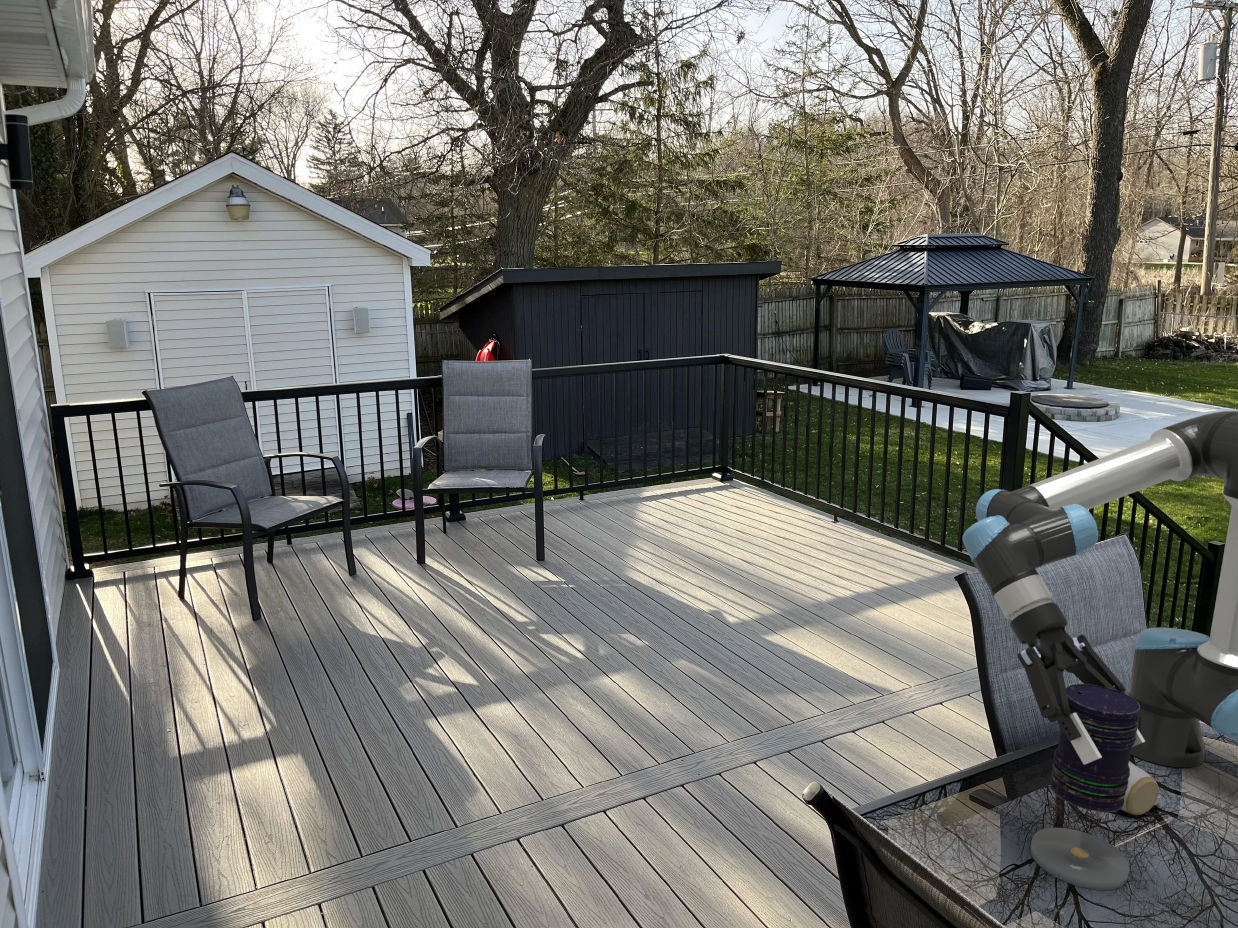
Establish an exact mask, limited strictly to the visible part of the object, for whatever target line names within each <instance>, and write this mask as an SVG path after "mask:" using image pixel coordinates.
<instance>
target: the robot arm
mask: <svg viewBox="0 0 1238 928" xmlns="http://www.w3.org/2000/svg"><path fill="white" fill-rule="evenodd" d="M1195 477H1214V478H1215V477H1217V478H1220V479H1223V480H1224V485H1223V490H1222V496H1223V498H1225V499H1226V501H1227V502H1228V503H1229V504H1230V506H1231V510H1230V516H1229V521H1228V528H1227V533H1226V540H1225V546H1224V550H1223V551H1224V552H1223V558H1222V563H1221V570H1220V574H1219V575H1220V576H1219V581H1218V586H1217V593H1216V600H1215V606H1214V610H1213V616H1212V623H1211V629H1210V634H1209V635H1210V636H1209V635H1206V634H1204V633H1201V632H1197V631H1192V630H1188V629H1184V628H1183V629H1182V628H1175V627H1174V628H1173V627H1150V628H1146V629H1143V630H1142V631H1140V633H1139V635H1138V638H1137V642H1136V646H1135V647H1134V655H1133V663H1132V670H1131V676H1130V677H1131V678H1130V685H1129V689H1128V690H1129V691H1128V696H1130V697H1132V698H1133V699H1134V700H1136V701H1137V702H1138V703H1139V705H1140V710H1139V714H1138V728H1137V733H1136V736H1135V737H1136V740H1135V742H1134V745H1133V746H1132V747H1131V752H1130V756H1131V755H1132V756H1133V757H1136V758H1139V759H1140V760H1143V761H1146V762H1150V763H1154V764H1157V765H1161V766H1166V767H1173V768H1192V767H1193V768H1195V767H1197V766H1200V765H1201V764H1202V763H1203V762H1204V757H1205V753H1206V752H1205V751H1206V746H1205V741H1204V736H1203V733H1202V732H1203V731H1202V726H1201V722H1202V723H1203V724H1205V725H1207V726H1208V727H1210V728H1212V730H1214V731H1215V732H1216V733H1218V734H1221V735H1224V736H1226V737H1228V738H1230V739H1232V740H1234V741H1236V742H1237V741H1238V411H1237V410H1228V411H1227V410H1225V411H1217V412H1212V413H1207V414H1203V415H1199V416H1195V417H1191V418H1189V419H1186V420H1183V421H1179V422H1177V423H1173V424H1171V425H1169V426H1165V427H1163V428H1160V429H1158V430H1156V431H1154V432H1153V433H1152V434H1151V435H1150V438H1149V439H1148V440H1146V441H1143V442H1139V443H1137V444H1134V445H1132V446H1130V447H1126V448H1124V449H1121V450H1119V451H1118V450H1117V451H1116V452H1114V453H1111V454H1108V455H1106V456H1103V457H1100V458H1098V459H1095V460H1092V461H1089V462H1087V463H1084V464H1082V465H1079V466H1076V467H1074V468H1072V469H1069V470H1065V471H1064V472H1061V473H1059V474H1058V473H1057V474H1056V475H1053V476H1050V477H1047V478H1045V479H1042V480H1040V481H1037V482H1035V483H1032V484H1028V485H1026V486H1025V487H1024V486H1023V487H1021V488H1018V489H1015V490H1012V491H1009V490H1006V489H997V488H995V489H990V490H988V491H986V492H984V493H983V494H982V495H981V496H980V497H979V498H978V501H977V503H976V506H975V515H976V516H975V518H976V519H977V522H975V523H974V524H972V525H970V527H968V528H967V529H966V530H965V531H964V533H963V535H962V543H963V544H964V547H965V549H966V551H967V553H968V555H969V557H970V559H971V562H972V563H973V564H974V566H975V568H976V569H977V571H978V572H979V574H980V576H981V577H982V579H983V581H984V582H985V584H986V586H987V588H988V589H989V591H990V592H991V595H992V597H993V598H994V599H995V601H996V602H997V605H998V606H999V608H1000V610H1001V612H1002V613H1003V614H1002V615H1004V617H1005V619H1007V620H1011V621H1010V624H1009V626H1010V628H1011V630H1012V631H1013V633H1014V635H1015V636H1016V638H1017V641H1018V642H1019V643H1020V644H1022V645H1027V646H1028V647H1027V648H1025V649H1024V650H1022V651H1020V652H1019V653H1017V655H1016V656H1017V658H1018V661H1020V663H1021V665H1022V667H1023V668H1024V670H1025V673H1026V675H1027V676H1026V677H1027V679H1028V681H1029V685H1030V687H1031V690H1032V693H1033V695H1034V700H1035V701H1036V704H1037V706H1038V710H1039V712H1040V714H1041V716H1042V717H1043V718H1044V719H1047V720H1048V721H1049V722H1050V723H1054V722H1056V721H1057V723H1058V726H1059V725H1060V726H1061V728H1062V730H1063V731H1064V733H1065V735H1066V737H1067V738H1068V740H1069V741H1071V743H1072V745H1073V747H1074V748H1075V750H1076V752H1077V754H1078V755H1079V757H1080V759H1081V761H1082V762H1083V764H1084V765H1085V764H1087V763H1090V762H1092V761H1094V760H1097V759H1099V758H1101V757H1102V756H1101V754H1100V753H1099V751H1098V749H1097V748H1096V746H1095V744H1094V742H1093V741H1092V739H1091V737H1090V736H1089V734H1088V732H1087V730H1086V729H1085V727H1084V725H1083V724H1082V722H1081V720H1080V718H1079V717H1078V715H1077V713H1073V714H1071V715H1069V714H1070V707H1069V702H1068V697H1067V692H1066V687H1067V686H1066V683H1065V678H1064V671H1066V672H1067V673H1069V674H1073V675H1074V676H1075V677H1076V678H1077V679H1079V680H1080V682H1081V683H1082V684H1089V685H1097V686H1102V687H1106V688H1110V689H1113V690H1116V691H1119V692H1122V693H1124V694H1126V690H1127V689H1126V687H1125V686H1124V684H1123V683H1122V682H1121V681H1120V680H1119V678H1118V677H1117V675H1116V674H1114V673H1113V671H1112V670H1111V669H1110V668H1109V666H1108V665H1107V664H1106V663H1105V662H1104V661H1103V659H1102V658H1101V657H1100V656H1099V654H1098V653H1097V652H1096V651H1095V650H1094V648H1093V647H1092V646H1091V644H1090V642H1089V641H1088V638H1087V637H1086V636H1085V635H1084V634H1081V633H1080V635H1078V636H1076V637H1071V636H1070V634H1068V633H1067V631H1066V629H1065V628H1066V627H1067V625H1068V620H1067V618H1066V616H1065V615H1064V613H1063V611H1062V609H1061V608H1060V607H1059V605H1058V603H1055V602H1053V598H1054V596H1053V594H1052V593H1051V591H1050V590H1049V588H1048V586H1047V585H1046V583H1045V582H1044V580H1043V579H1042V577H1041V576H1040V574H1039V572H1038V570H1037V569H1038V568H1041V567H1043V566H1046V565H1049V564H1051V563H1055V562H1057V561H1061V560H1064V559H1067V558H1070V557H1072V556H1078V555H1079V554H1080V553H1082V552H1085V551H1086V550H1088V549H1091V548H1093V547H1094V546H1095V545H1096V544H1097V542H1098V539H1099V531H1098V525H1097V522H1096V520H1095V518H1094V517H1093V515H1092V513H1091V512H1090V511H1089V510H1092V509H1094V508H1097V507H1099V506H1102V505H1105V504H1107V503H1110V502H1112V501H1116V500H1118V499H1120V498H1123V497H1126V496H1129V495H1131V494H1133V493H1136V492H1139V491H1141V490H1144V489H1147V488H1149V487H1153V486H1155V485H1158V484H1161V483H1162V482H1166V481H1168V480H1172V481H1175V482H1181V481H1185V480H1188V479H1191V478H1195Z"/></svg>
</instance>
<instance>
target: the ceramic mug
mask: <svg viewBox="0 0 1238 928" xmlns="http://www.w3.org/2000/svg"><path fill="white" fill-rule="evenodd" d="M1128 766H1129V768H1130V777H1129V778H1128V781H1129V782H1128V788H1127V790H1126V794H1125V796H1124V805H1123V807H1122V808H1121V809H1120V810H1122V811H1123V812H1125V813H1128V814H1130V815H1134V816H1141V815H1143V814H1146V813H1147V812H1149V811H1150V810H1151V809H1152V808H1153V807H1154V806H1158V804H1159V802H1160V801H1161V796H1160V795H1159V791H1160V789H1159V785H1158V783H1157V782H1158V781H1156V779H1154V777H1153V776H1151V775H1150V774H1149V773H1148V772H1147V771H1145V770H1143V769H1142V768H1140V767H1139V766H1137V765H1135V764H1134V763H1132V762H1131V761H1130V760H1129V764H1128Z"/></svg>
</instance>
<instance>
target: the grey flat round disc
mask: <svg viewBox="0 0 1238 928" xmlns="http://www.w3.org/2000/svg"><path fill="white" fill-rule="evenodd" d="M1031 838H1032V839H1031V842H1030V855H1031V857H1032V859H1033V860H1034V861H1035V863H1036V864H1037V865H1038V867H1040V868H1041V869H1043V870H1044V871H1045V872H1046V873H1048V874H1049V875H1051V876H1053V877H1055V878H1057V879H1059V880H1061V881H1063V882H1065V883H1067V884H1070V885H1073V886H1077V887H1079V888H1083V889H1089V890H1095V891H1110V890H1111V891H1112V890H1117V889H1119V888H1121V887H1123V886H1124V885H1126V883H1127V881H1128V878H1129V871H1130V864H1129V861H1128V859H1127V858H1126V856H1125V855H1124V854H1123V853H1122V852H1121V851H1120V850H1119V849H1118V848H1116V847H1115V846H1114V845H1112V844H1110V843H1109V842H1107V841H1105V840H1104V839H1102V838H1099V837H1097V836H1096V835H1093V834H1090V833H1087V832H1084V831H1081V830H1078V829H1077V830H1076V829H1072V828H1065V827H1048V828H1043V829H1040V830H1038V831H1036V832H1035V833H1034V834H1033V835H1032V837H1031Z"/></svg>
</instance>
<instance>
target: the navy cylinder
mask: <svg viewBox="0 0 1238 928" xmlns="http://www.w3.org/2000/svg"><path fill="white" fill-rule="evenodd" d="M1065 687H1066V692H1067V697H1068V702H1069V707H1070V714H1069V715H1071V714H1073V713H1077V715H1078V717H1079V718H1080V720H1081V722H1082V724H1083V725H1084V727H1085V729H1086V730H1087V732H1088V734H1089V736H1090V737H1091V739H1092V741H1093V742H1094V744H1095V746H1096V748H1097V749H1098V751H1099V753H1100V754H1101V756H1102V757H1101V758H1099V759H1097V760H1094V761H1092V762H1090V763H1087V764H1085V765H1084V764H1083V762H1082V761H1081V759H1080V757H1079V755H1078V754H1077V752H1076V750H1075V748H1074V747H1073V745H1072V743H1071V741H1069V740H1068V738H1067V737H1066V735H1065V733H1064V731H1063V730H1062V728H1061V726H1060V725H1059V724H1058V727H1059V729H1060V731H1059V738H1058V745H1057V747H1056V748H1055V750H1054V753H1053V760H1052V767H1051V770H1052V773H1051V777H1052V778H1051V781H1050V788H1051V791H1052V792H1053V793H1054V794H1055V795H1056V796H1057V797H1059V798H1060V799H1061V800H1063V801H1064V802H1066V803H1068V804H1070V805H1072V806H1075V807H1078V808H1080V809H1084V810H1086V811H1087V810H1088V811H1091V812H1099V813H1115V812H1117V811H1120V810H1122V809H1121V808H1122V807H1123V805H1124V796H1125V794H1126V790H1127V788H1128V782H1129V781H1128V778H1129V777H1130V768H1129V766H1128V764H1129V761H1130V757H1131V754H1130V752H1131V747H1132V746H1133V745H1134V742H1135V740H1136V737H1135V736H1136V733H1137V728H1138V714H1139V710H1140V705H1139V703H1138V702H1137V701H1136V700H1134V699H1133V698H1132V697H1130V696H1129V694H1126V693H1125V694H1124V693H1122V692H1119V691H1116V690H1113V689H1110V688H1106V687H1102V686H1097V685H1089V684H1084V683H1076V684H1072V685H1068V686H1065Z"/></svg>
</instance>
